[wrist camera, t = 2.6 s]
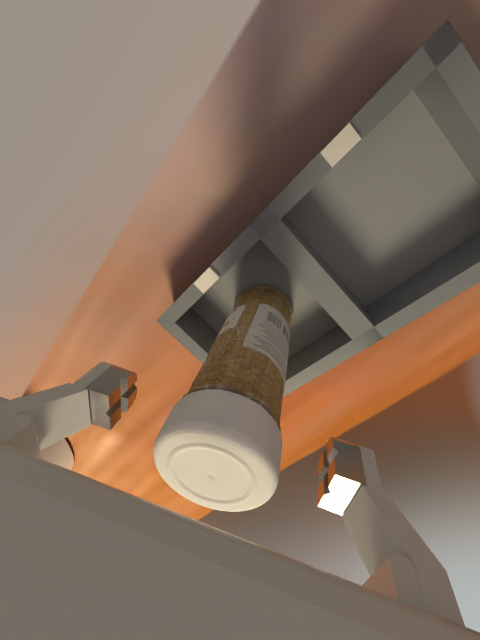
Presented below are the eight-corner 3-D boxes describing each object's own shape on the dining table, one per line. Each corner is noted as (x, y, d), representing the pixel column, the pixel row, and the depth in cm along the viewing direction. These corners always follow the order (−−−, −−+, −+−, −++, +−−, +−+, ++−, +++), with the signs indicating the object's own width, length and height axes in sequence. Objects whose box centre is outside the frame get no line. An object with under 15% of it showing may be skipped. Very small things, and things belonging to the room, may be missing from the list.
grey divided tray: (262, 383, 25) (255, 414, 22) (176, 301, 23) (155, 322, 20) (522, 216, 16) (580, 226, 12) (415, 55, 14) (450, 16, 10)
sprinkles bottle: (227, 291, 21) (125, 432, 9) (285, 277, 20) (254, 423, 8) (245, 342, 23) (179, 516, 11) (300, 332, 21) (292, 521, 9)
